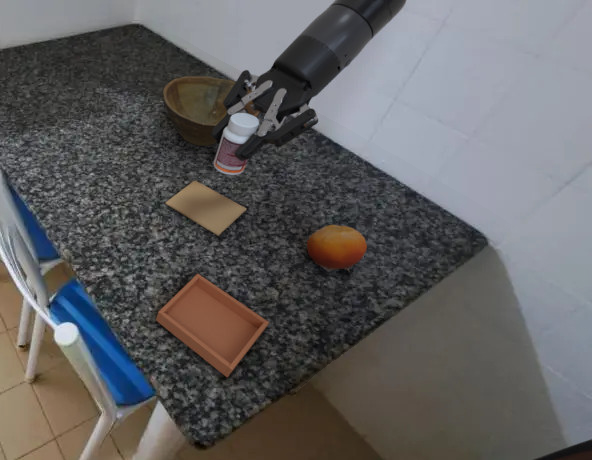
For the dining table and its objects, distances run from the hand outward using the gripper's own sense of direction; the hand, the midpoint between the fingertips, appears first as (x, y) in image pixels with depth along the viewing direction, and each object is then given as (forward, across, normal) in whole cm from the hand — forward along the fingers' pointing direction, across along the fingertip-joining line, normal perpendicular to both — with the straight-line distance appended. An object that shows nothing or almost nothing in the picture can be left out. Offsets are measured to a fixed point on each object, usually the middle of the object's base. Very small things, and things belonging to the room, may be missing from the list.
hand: (226, 147), depth 58 cm
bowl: (-1, -26, +28) cm, 38 cm away
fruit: (+2, +15, +25) cm, 29 cm away
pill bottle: (+2, 0, +4) cm, 5 cm away
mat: (+9, -5, +17) cm, 20 cm away
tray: (+20, +17, +5) cm, 27 cm away
